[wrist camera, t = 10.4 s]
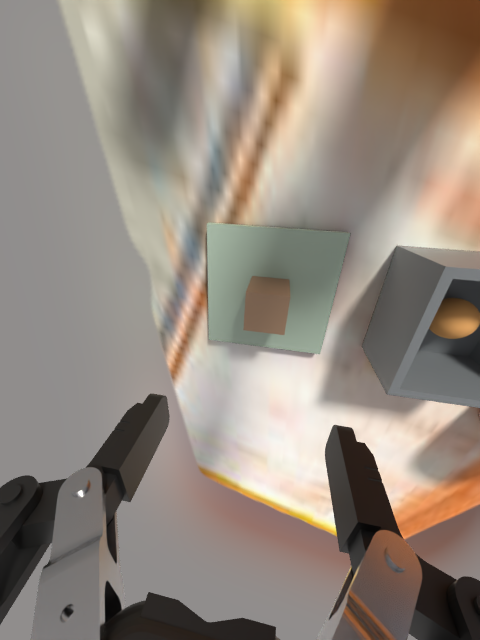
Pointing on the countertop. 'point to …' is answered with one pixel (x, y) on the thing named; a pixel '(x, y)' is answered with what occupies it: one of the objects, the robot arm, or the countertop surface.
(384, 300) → the bin
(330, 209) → the countertop surface
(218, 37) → the countertop surface
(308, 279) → the lid
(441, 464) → the countertop surface
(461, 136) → the countertop surface
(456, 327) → the ball
